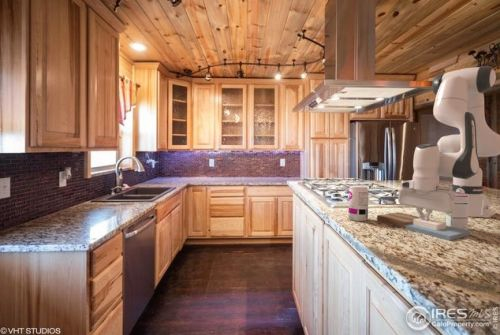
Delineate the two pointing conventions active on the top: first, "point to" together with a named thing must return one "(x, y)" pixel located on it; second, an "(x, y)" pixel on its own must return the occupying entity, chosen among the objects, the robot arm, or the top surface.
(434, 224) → the cream rectangular block
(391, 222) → the brown square tile
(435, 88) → the robot arm
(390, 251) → the top surface
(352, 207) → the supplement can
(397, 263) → the top surface
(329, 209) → the top surface
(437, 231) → the mat
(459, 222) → the syrup box
